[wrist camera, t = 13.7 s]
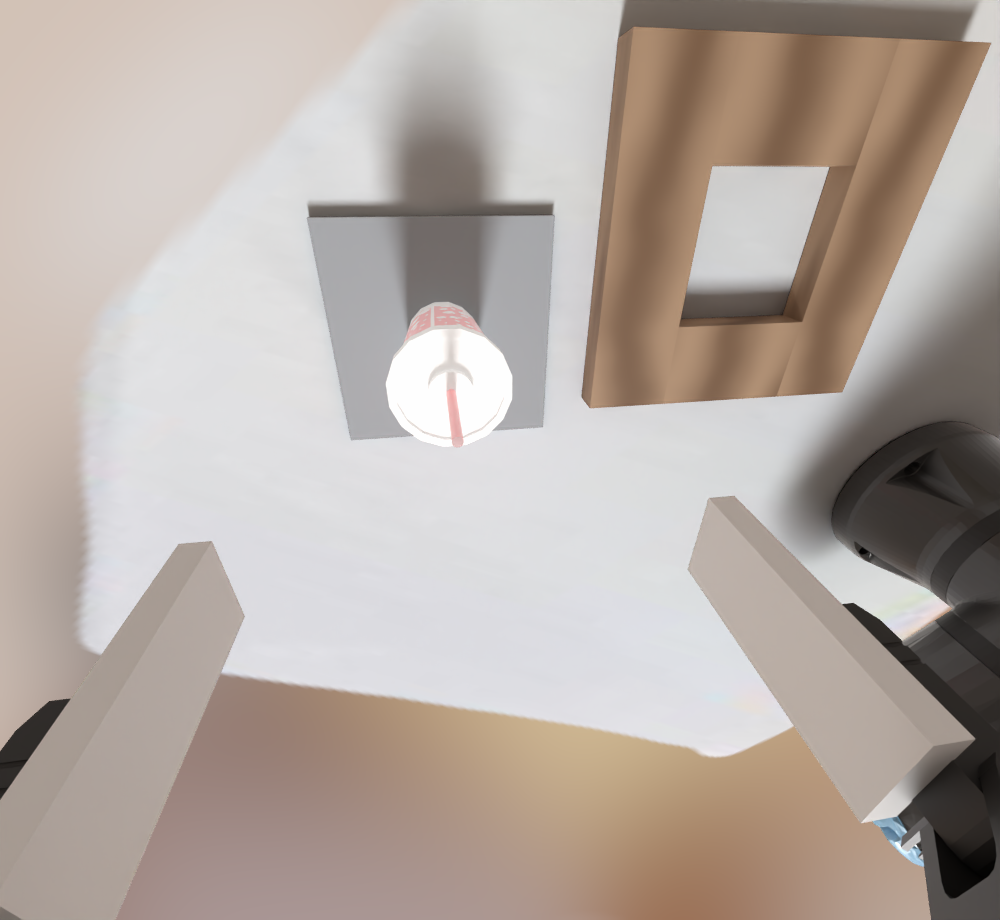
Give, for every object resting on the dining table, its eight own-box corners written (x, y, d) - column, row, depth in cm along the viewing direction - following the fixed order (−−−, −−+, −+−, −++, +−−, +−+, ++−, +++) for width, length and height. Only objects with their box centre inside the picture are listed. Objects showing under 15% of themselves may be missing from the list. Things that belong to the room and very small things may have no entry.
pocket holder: (953, 51, 26) (991, 42, 24) (822, 382, 36) (842, 392, 34) (618, 38, 23) (633, 26, 22) (581, 397, 34) (589, 408, 32)
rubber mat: (552, 214, 27) (554, 215, 27) (541, 423, 34) (542, 427, 34) (309, 217, 25) (307, 217, 25) (351, 436, 33) (350, 440, 32)
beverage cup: (412, 391, 31) (405, 520, 19) (381, 302, 28) (351, 390, 16) (498, 370, 31) (545, 484, 19) (478, 278, 28) (520, 347, 16)
